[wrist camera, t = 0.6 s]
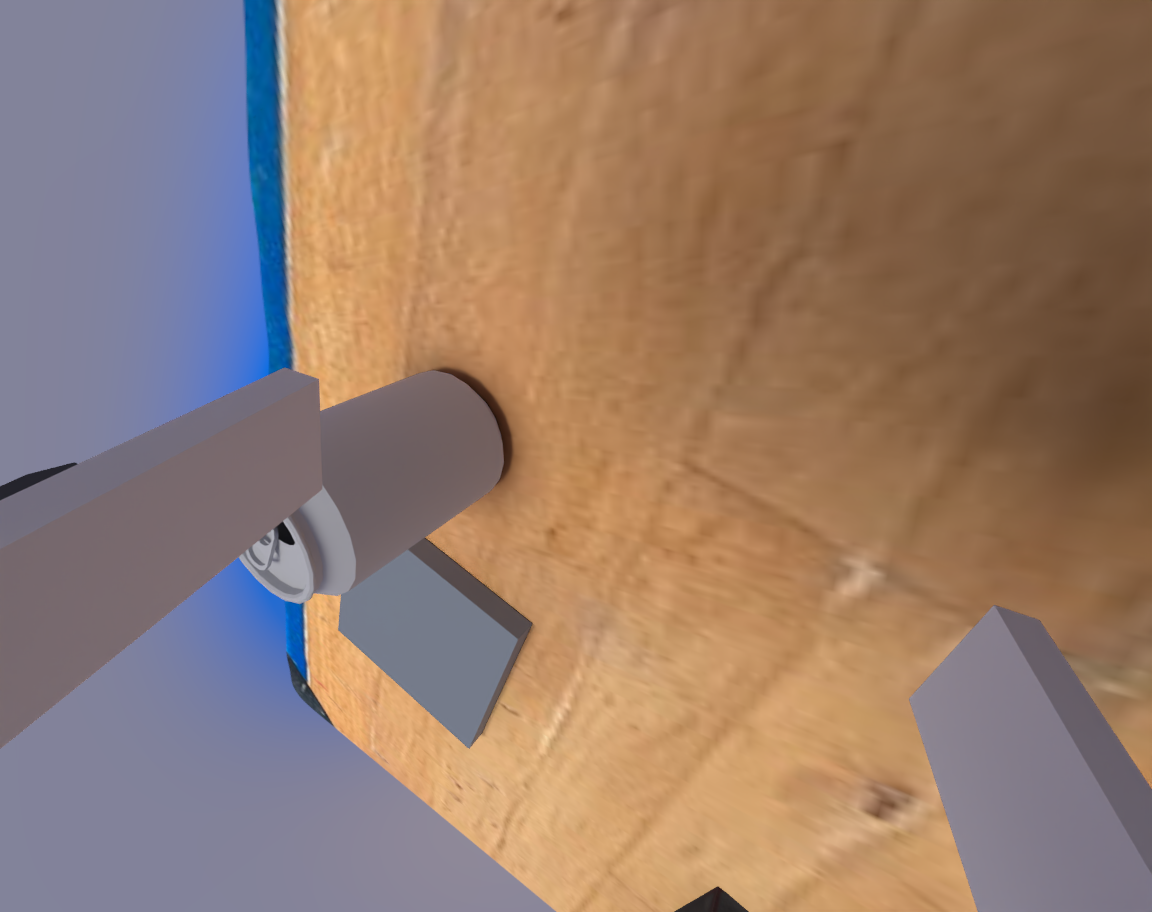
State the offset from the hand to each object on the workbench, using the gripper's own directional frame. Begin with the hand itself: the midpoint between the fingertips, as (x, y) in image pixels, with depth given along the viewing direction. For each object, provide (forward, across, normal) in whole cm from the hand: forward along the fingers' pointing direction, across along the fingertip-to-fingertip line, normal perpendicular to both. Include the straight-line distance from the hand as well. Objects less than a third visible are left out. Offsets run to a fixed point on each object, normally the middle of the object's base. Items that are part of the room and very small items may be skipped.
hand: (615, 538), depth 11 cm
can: (+17, -10, -9) cm, 21 cm away
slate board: (+18, -11, -27) cm, 34 cm away
